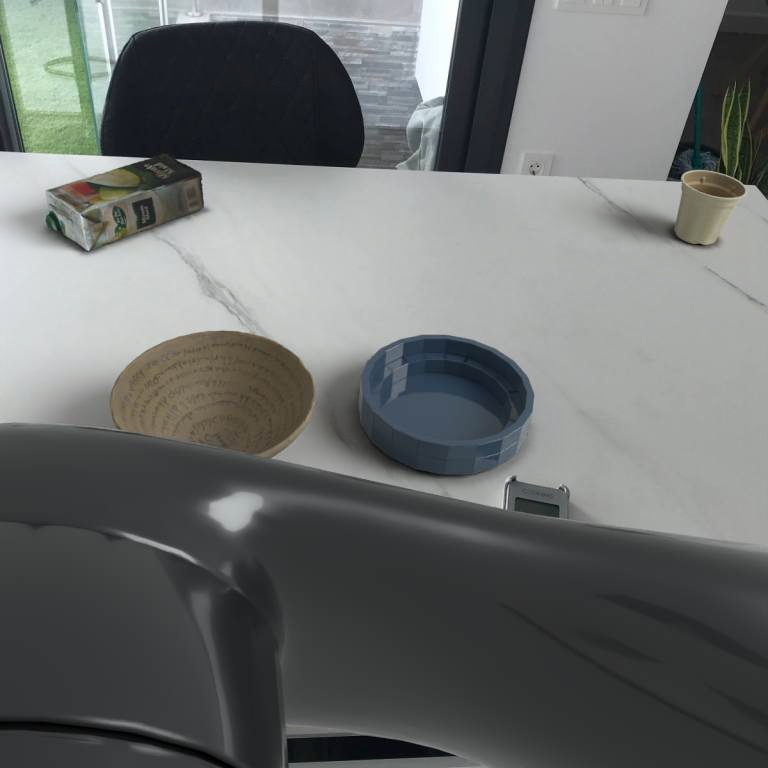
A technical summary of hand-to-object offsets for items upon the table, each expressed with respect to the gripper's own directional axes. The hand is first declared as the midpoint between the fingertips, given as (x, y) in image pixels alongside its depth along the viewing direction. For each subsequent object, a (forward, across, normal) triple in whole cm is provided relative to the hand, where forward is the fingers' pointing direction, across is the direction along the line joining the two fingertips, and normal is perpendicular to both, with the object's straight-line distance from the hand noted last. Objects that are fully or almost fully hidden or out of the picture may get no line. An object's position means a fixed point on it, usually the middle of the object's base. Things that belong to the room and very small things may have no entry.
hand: (214, 566), depth 44 cm
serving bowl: (+37, +5, +17) cm, 41 cm away
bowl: (+19, +20, +17) cm, 32 cm away
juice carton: (+44, +62, +18) cm, 78 cm away
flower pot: (+98, -3, +17) cm, 99 cm away
